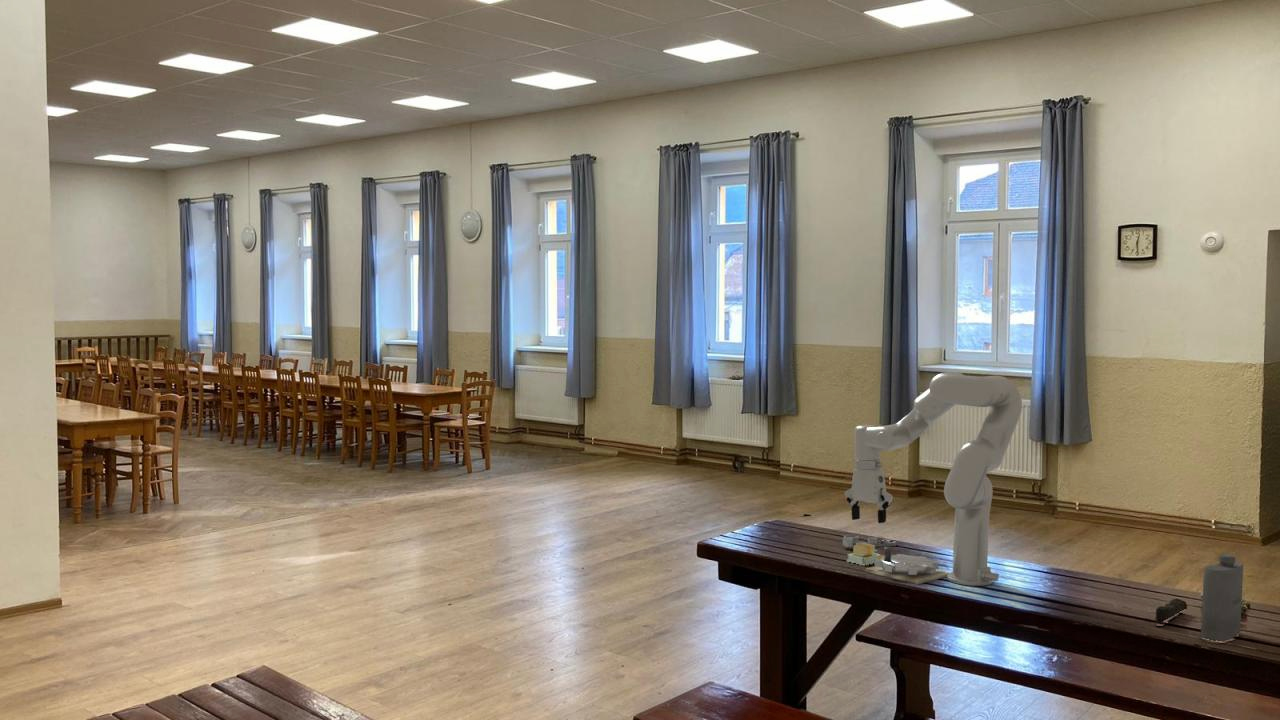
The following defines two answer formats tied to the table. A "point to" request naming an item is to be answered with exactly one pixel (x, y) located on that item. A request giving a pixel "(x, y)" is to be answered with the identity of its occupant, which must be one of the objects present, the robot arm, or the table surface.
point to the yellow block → (864, 550)
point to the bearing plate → (906, 577)
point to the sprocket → (905, 563)
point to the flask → (1222, 599)
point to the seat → (862, 559)
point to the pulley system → (854, 540)
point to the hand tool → (1170, 610)
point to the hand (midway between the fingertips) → (868, 520)
